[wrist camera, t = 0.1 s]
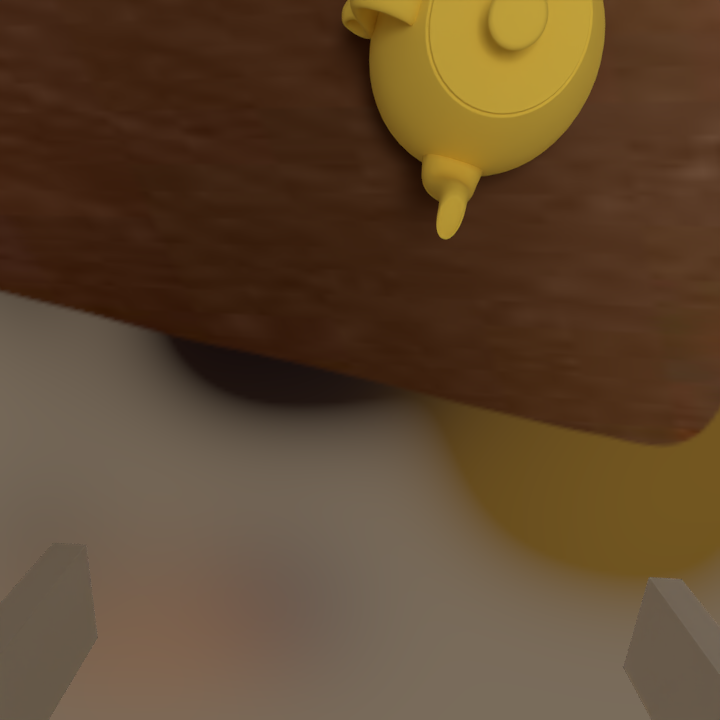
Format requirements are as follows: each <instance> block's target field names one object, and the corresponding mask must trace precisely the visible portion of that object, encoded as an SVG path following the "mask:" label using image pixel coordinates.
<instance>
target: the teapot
mask: <svg viewBox="0 0 720 720" xmlns="http://www.w3.org/2000/svg"><path fill="white" fill-rule="evenodd" d="M342 22H343V24H344V26H345V27H346V28H347V29H348V30H350V31H351V32H353V33H354V34H356V35H358V36H360V37H362V38H365V39H371V42H370V55H369V67H370V80H371V85H372V91H373V95H374V98H375V101H376V105H377V108H378V110H379V112H380V114H381V117H382V119H383V121H384V123H385V124H386V126H387V128H388V129H389V131H390V133H391V134H392V135H393V136H394V138H395V139H396V140H397V141H398V143H399V144H400V145H401V146H402V147H403V148H404V149H405V150H406V151H407V152H408V153H410V154H411V155H412V156H414V157H415V158H416V159H418V160H419V161H421V162H422V176H421V177H422V182H423V186H424V188H425V189H426V191H427V193H428V194H429V195H430V196H432V197H433V198H434V199H436V200H437V201H439V207H438V212H437V220H436V228H437V232H438V235H439V236H440V237H441V238H442V239H449V238H451V237H452V236H453V235H454V234H455V233H456V231H457V230H458V228H459V226H460V224H461V222H462V220H463V217H464V213H465V210H466V205H467V202H468V201H469V200H470V198H471V197H472V195H473V193H474V191H475V188H476V186H477V184H478V181H479V179H480V177H481V176H489V175H494V174H499V173H503V172H506V171H509V170H511V169H514V168H517V167H519V166H521V165H523V164H525V163H527V162H529V161H531V160H532V159H534V158H535V157H537V156H538V155H540V154H541V153H543V152H544V151H545V150H546V149H547V148H549V147H550V146H551V145H552V144H553V143H554V142H555V141H557V140H558V138H559V137H560V136H561V135H562V134H563V133H564V132H565V131H566V130H567V129H568V127H569V126H570V125H571V123H572V122H573V121H574V119H575V118H576V116H577V115H578V113H579V112H580V110H581V109H582V107H583V105H584V103H585V102H586V100H587V98H588V96H589V94H590V91H591V89H592V87H593V84H594V82H595V79H596V76H597V73H598V69H599V66H600V62H601V57H602V52H603V46H604V37H605V11H604V4H603V0H348V1H347V2H346V3H345V5H344V7H343V10H342Z"/></svg>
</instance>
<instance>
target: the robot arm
mask: <svg viewBox="0 0 720 720" xmlns="http://www.w3.org/2000/svg"><path fill="white" fill-rule="evenodd" d="M97 638H98V636H97V629H96V620H95V612H94V604H93V596H92V587H91V579H90V572H89V563H88V556H87V547H86V545H81V544H64V543H53V544H52V545H51V546H50V547H49V548H48V549H47V550H46V551H45V553H44V554H43V555H42V556H41V557H40V558H39V559H38V561H37V562H36V563H35V564H34V565H33V566H32V567H31V569H30V570H29V571H28V572H27V573H26V574H25V575H24V576H23V578H22V579H21V580H20V581H19V582H18V583H17V584H16V585H15V587H14V588H13V589H12V590H11V591H10V592H9V593H8V595H7V596H6V597H5V598H4V599H3V600H2V601H1V603H0V720H49V719H50V717H51V715H52V714H53V712H54V710H55V708H56V707H57V705H58V703H59V702H60V700H61V698H62V697H63V695H64V693H65V692H66V690H67V688H68V687H69V685H70V683H71V682H72V680H73V678H74V677H75V675H76V673H77V671H78V670H79V668H80V667H81V665H82V663H83V662H84V660H85V658H86V657H87V655H88V653H89V651H90V650H91V648H92V646H93V645H94V643H95V641H96V639H97ZM623 668H624V670H625V672H626V673H627V675H628V677H629V679H630V681H631V683H632V685H633V686H634V688H635V690H636V692H637V694H638V696H639V698H640V700H641V701H642V703H643V705H644V707H645V709H646V710H647V713H648V714H649V716H650V718H651V720H720V626H719V625H718V624H717V623H716V622H715V620H714V619H713V618H712V617H711V615H710V614H709V613H708V612H707V610H706V609H705V608H704V607H703V605H702V604H701V603H700V602H699V600H698V599H697V598H696V597H695V595H694V594H693V593H692V592H691V590H690V589H689V588H688V587H687V585H686V584H685V583H684V582H683V581H682V579H670V578H652V577H649V579H648V583H647V586H646V590H645V593H644V596H643V600H642V604H641V607H640V611H639V614H638V617H637V622H636V625H635V628H634V632H633V636H632V638H631V642H630V645H629V649H628V653H627V656H626V660H625V663H624V667H623Z"/></svg>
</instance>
